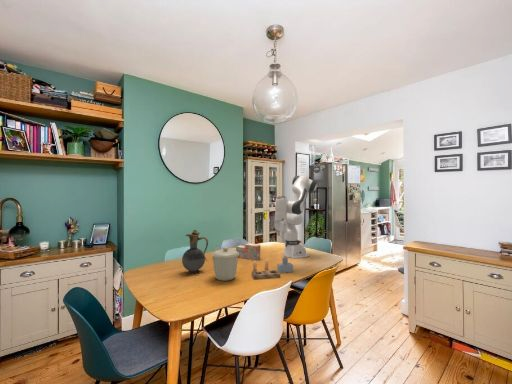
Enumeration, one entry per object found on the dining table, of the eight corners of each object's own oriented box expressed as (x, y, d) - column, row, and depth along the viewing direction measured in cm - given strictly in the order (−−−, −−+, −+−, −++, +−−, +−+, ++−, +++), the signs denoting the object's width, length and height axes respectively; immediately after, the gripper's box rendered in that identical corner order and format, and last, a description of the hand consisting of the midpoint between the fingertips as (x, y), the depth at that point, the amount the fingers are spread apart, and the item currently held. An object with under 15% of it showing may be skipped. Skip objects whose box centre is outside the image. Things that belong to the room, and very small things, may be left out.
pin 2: (267, 268, 181) (267, 259, 181) (268, 269, 179) (268, 260, 179) (264, 269, 181) (264, 259, 181) (265, 270, 178) (265, 260, 178)
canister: (206, 277, 163) (206, 246, 163) (229, 271, 175) (229, 242, 175) (221, 285, 149) (221, 251, 149) (244, 278, 161) (244, 246, 161)
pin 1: (256, 270, 179) (256, 260, 179) (256, 271, 176) (256, 261, 176) (252, 270, 178) (252, 260, 178) (253, 271, 176) (253, 261, 175)
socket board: (276, 273, 171) (276, 269, 171) (280, 277, 163) (280, 273, 163) (251, 275, 167) (251, 271, 167) (253, 279, 160) (253, 275, 160)
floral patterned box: (236, 257, 214) (236, 243, 214) (240, 255, 219) (240, 241, 219) (256, 260, 202) (256, 246, 202) (260, 259, 208) (260, 244, 208)
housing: (290, 269, 179) (290, 256, 179) (292, 272, 174) (292, 258, 174) (277, 270, 177) (277, 257, 177) (279, 273, 172) (279, 259, 172)
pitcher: (180, 272, 174) (180, 230, 173) (205, 267, 185) (204, 227, 185) (185, 276, 165) (185, 232, 165) (211, 271, 176) (211, 229, 176)
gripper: (289, 219, 171) (288, 239, 170) (280, 216, 191) (280, 234, 191) (280, 219, 169) (280, 239, 169) (273, 216, 189) (272, 234, 189)
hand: (280, 236), depth 180 cm, fingers open, 8 cm apart
